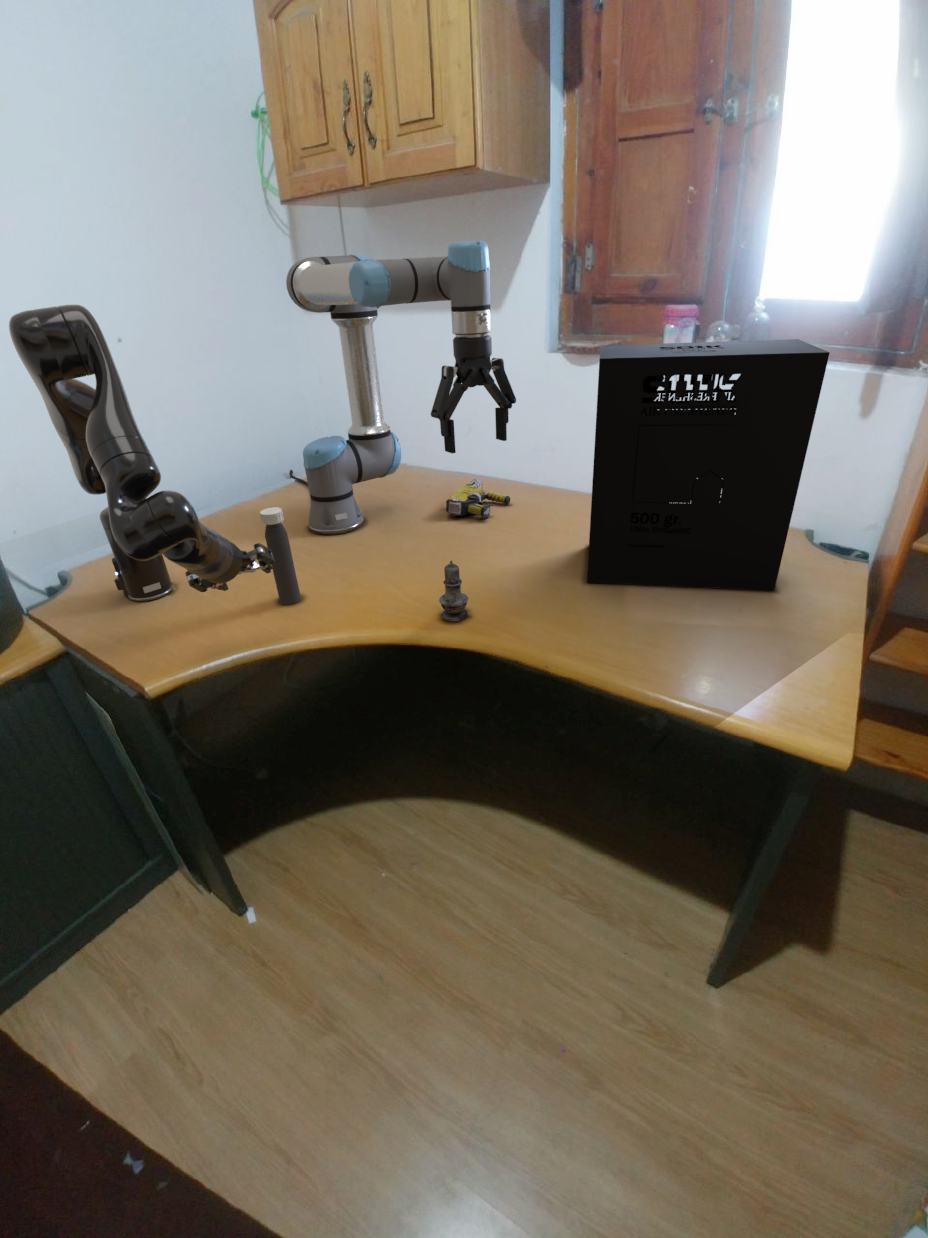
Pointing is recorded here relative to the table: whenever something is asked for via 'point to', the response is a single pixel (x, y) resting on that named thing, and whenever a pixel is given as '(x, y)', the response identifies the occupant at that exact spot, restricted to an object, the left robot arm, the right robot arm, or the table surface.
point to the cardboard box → (699, 461)
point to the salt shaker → (453, 595)
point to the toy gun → (473, 500)
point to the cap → (271, 516)
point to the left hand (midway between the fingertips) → (246, 576)
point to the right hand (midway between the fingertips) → (476, 445)
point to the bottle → (282, 564)
